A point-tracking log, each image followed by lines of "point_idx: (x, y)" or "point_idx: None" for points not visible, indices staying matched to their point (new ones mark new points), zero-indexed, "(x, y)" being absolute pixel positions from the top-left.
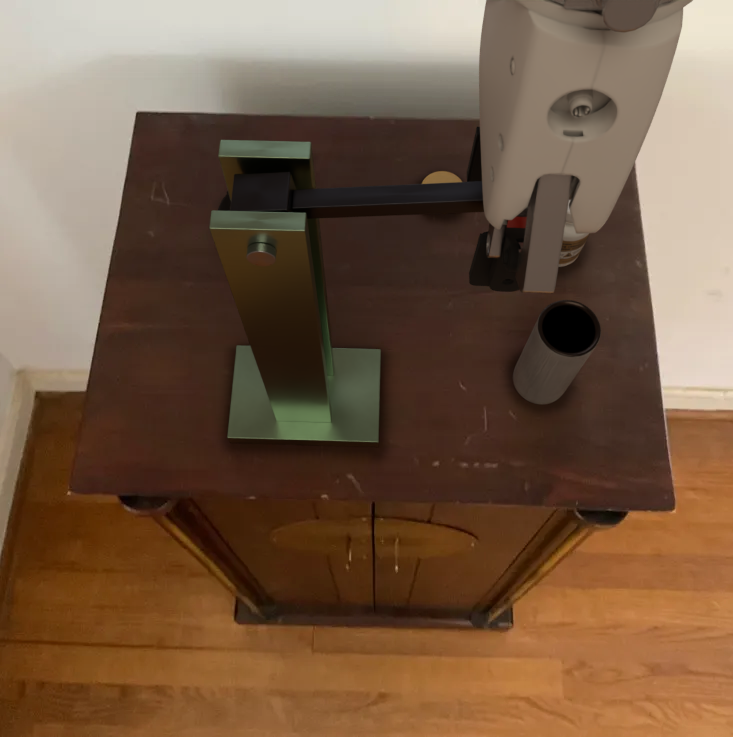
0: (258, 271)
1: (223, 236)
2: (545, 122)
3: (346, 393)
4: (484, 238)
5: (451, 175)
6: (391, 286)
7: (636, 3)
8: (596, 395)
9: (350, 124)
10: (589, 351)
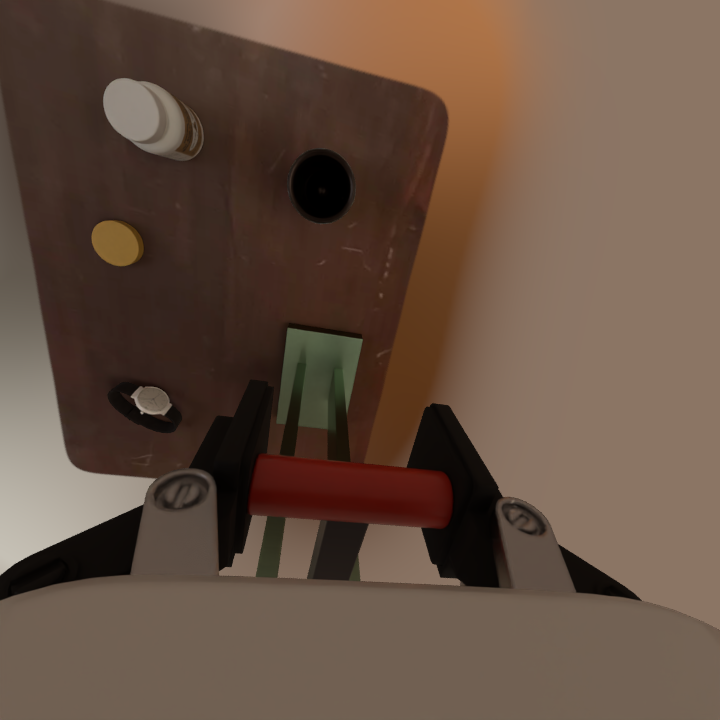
0: None
1: None
2: None
3: (321, 356)
4: (450, 572)
5: (96, 231)
6: (224, 305)
7: None
8: (345, 137)
9: (43, 316)
10: (352, 172)
